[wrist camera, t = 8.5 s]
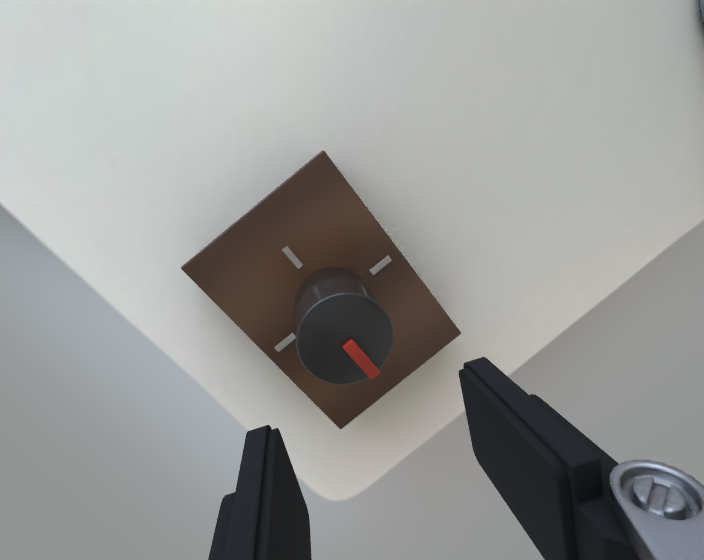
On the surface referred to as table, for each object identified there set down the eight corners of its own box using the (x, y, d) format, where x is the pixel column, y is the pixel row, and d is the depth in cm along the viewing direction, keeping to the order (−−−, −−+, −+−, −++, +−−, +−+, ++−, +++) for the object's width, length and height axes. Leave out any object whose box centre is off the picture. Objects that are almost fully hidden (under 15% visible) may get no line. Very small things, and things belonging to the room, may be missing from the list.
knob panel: (194, 258, 23) (179, 268, 20) (319, 154, 22) (323, 149, 19) (335, 404, 27) (340, 431, 24) (443, 317, 26) (462, 334, 23)
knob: (279, 300, 21) (274, 339, 15) (338, 251, 21) (355, 274, 15) (327, 352, 22) (339, 407, 17) (383, 307, 22) (414, 346, 17)
